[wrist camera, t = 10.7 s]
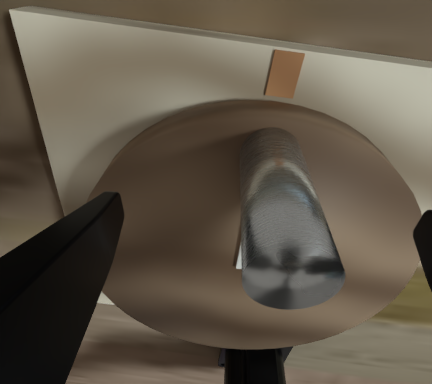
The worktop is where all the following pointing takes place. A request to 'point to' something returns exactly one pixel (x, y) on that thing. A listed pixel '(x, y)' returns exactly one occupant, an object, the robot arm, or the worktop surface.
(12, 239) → the worktop surface
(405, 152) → the birch board
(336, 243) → the walnut dial
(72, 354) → the robot arm
